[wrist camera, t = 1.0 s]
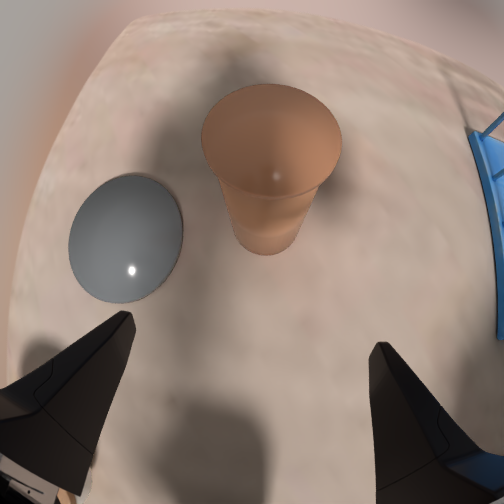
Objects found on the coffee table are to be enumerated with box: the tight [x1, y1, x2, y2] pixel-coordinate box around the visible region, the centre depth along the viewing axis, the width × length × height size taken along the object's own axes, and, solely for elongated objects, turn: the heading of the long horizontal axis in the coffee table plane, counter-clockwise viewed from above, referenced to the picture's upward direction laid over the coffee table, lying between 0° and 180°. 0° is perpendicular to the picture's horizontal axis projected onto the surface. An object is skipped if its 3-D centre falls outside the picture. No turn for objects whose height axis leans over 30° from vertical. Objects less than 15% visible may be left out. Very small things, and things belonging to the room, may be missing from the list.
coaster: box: [69, 176, 183, 304], centre depth 24 cm, size 12×12×1 cm
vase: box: [201, 84, 342, 255], centre depth 18 cm, size 6×6×13 cm
